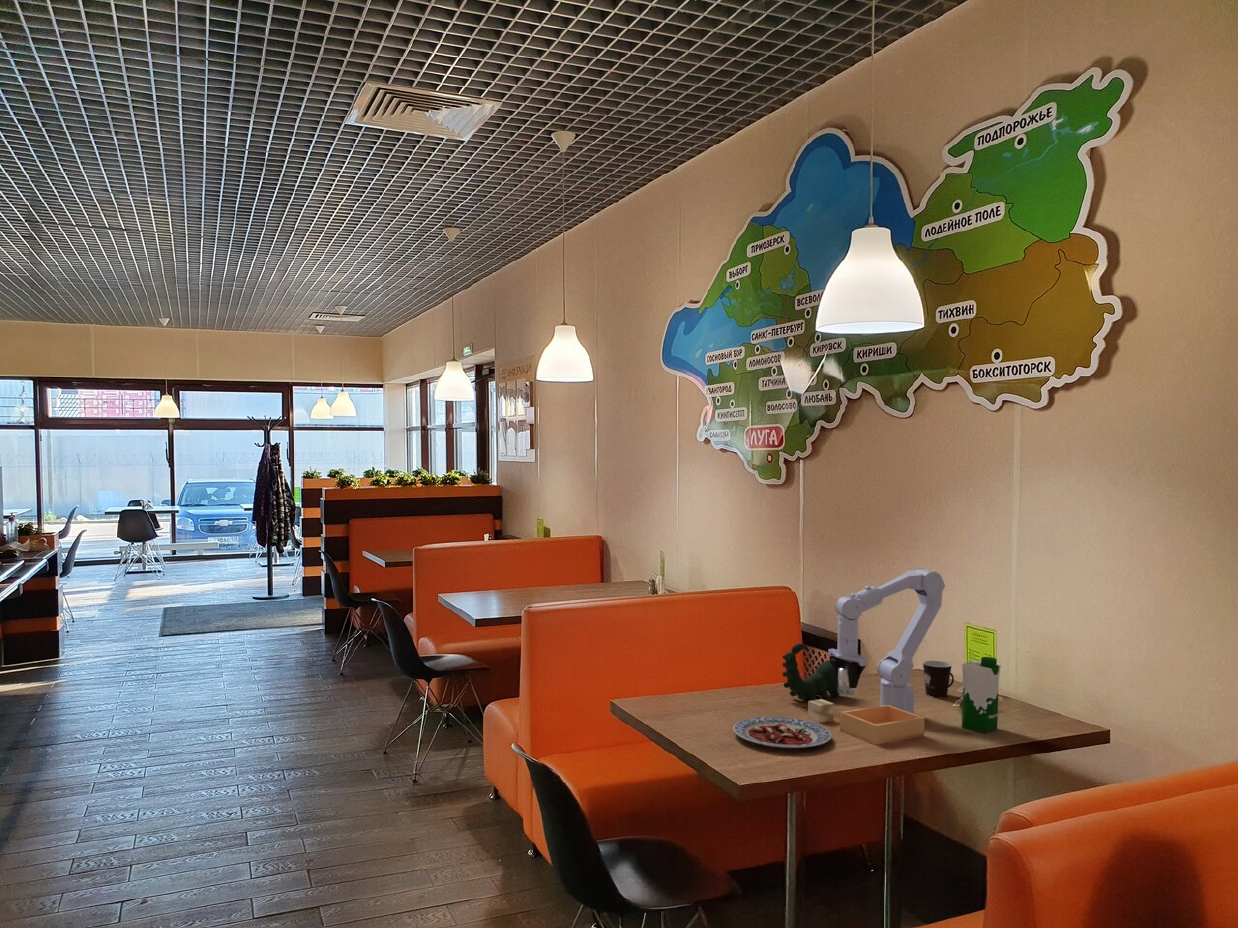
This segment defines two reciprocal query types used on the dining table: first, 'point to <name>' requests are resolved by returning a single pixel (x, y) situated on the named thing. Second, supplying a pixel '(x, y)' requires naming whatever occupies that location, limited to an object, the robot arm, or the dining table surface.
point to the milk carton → (980, 694)
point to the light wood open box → (882, 724)
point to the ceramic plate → (782, 732)
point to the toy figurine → (809, 678)
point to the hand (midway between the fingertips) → (846, 685)
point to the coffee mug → (937, 678)
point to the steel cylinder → (844, 681)
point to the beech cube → (820, 710)
